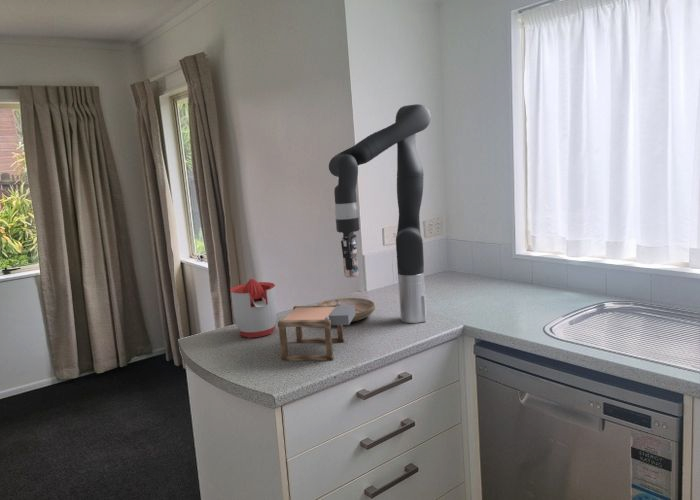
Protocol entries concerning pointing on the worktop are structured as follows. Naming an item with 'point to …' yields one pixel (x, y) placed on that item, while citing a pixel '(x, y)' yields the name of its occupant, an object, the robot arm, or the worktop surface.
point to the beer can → (355, 265)
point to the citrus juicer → (254, 308)
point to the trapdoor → (324, 314)
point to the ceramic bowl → (361, 306)
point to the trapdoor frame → (309, 323)
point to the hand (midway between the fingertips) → (351, 267)
